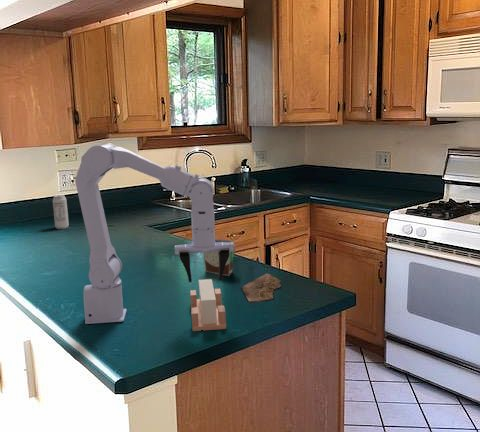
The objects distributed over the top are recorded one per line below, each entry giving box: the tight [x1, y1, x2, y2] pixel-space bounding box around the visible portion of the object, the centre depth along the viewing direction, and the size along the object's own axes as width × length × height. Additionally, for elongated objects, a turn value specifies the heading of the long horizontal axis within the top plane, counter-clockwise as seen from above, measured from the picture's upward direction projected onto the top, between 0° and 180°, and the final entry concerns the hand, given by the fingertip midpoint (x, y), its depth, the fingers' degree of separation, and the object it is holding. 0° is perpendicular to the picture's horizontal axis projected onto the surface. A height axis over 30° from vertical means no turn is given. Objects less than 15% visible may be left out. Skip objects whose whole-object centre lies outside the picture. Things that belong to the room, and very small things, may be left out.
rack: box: [189, 288, 227, 332], centre depth 135 cm, size 8×19×4 cm, turn 6°
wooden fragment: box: [240, 273, 282, 303], centre depth 156 cm, size 26×11×1 cm, turn 164°
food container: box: [202, 238, 236, 277], centre depth 172 cm, size 12×6×10 cm, turn 56°
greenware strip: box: [198, 278, 217, 324], centre depth 135 cm, size 4×16×6 cm, turn 7°
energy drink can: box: [52, 194, 70, 230], centre depth 244 cm, size 6×6×15 cm
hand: (205, 280), depth 134 cm, fingers open, 7 cm apart
